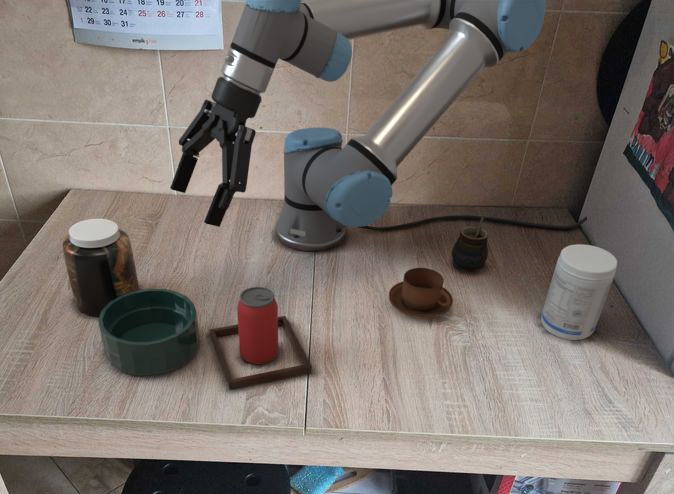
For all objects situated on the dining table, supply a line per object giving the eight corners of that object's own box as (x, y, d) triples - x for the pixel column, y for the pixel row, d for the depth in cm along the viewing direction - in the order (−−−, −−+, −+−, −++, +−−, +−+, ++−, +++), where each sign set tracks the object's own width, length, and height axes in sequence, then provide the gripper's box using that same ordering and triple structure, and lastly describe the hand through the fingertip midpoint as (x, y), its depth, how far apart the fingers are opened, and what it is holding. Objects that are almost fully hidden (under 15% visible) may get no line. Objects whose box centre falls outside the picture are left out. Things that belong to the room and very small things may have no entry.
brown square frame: (285, 322, 118) (285, 315, 117) (311, 372, 107) (311, 366, 106) (209, 336, 115) (209, 329, 114) (229, 389, 104) (228, 383, 103)
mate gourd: (446, 271, 133) (454, 227, 127) (453, 254, 138) (461, 211, 132) (481, 279, 131) (491, 235, 125) (487, 261, 136) (497, 218, 130)
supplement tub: (567, 306, 124) (590, 238, 115) (605, 334, 117) (632, 264, 108) (528, 318, 121) (548, 249, 111) (564, 347, 114) (589, 277, 105)
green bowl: (190, 314, 120) (186, 282, 115) (207, 367, 108) (204, 334, 104) (102, 329, 115) (94, 297, 111) (110, 386, 104) (103, 352, 99)
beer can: (273, 368, 108) (272, 310, 100) (235, 363, 109) (231, 304, 101) (282, 344, 113) (281, 287, 105) (245, 339, 114) (242, 282, 106)
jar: (83, 324, 116) (65, 252, 107) (70, 292, 124) (52, 221, 115) (147, 308, 121) (136, 236, 111) (130, 277, 129) (118, 208, 119)
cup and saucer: (458, 297, 126) (463, 270, 122) (441, 331, 117) (446, 303, 113) (399, 282, 129) (402, 255, 125) (379, 313, 121) (382, 286, 117)
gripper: (187, 54, 108) (146, 172, 116) (262, 102, 92) (208, 235, 100) (224, 70, 113) (182, 182, 121) (300, 118, 97) (246, 244, 105)
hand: (193, 207), depth 110 cm, fingers open, 13 cm apart
